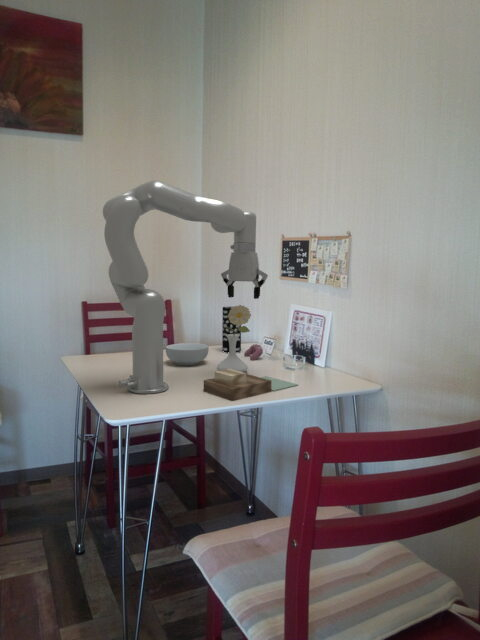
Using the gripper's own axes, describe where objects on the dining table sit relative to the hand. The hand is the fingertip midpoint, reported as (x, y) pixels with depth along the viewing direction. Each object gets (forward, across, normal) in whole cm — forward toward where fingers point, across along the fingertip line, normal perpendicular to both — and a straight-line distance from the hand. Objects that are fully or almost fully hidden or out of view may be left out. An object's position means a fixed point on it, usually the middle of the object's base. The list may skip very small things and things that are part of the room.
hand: (243, 297), depth 169 cm
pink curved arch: (+28, -8, +31) cm, 42 cm away
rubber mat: (+28, +13, -7) cm, 31 cm away
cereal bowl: (+28, -28, +9) cm, 41 cm away
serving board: (+28, +7, -20) cm, 35 cm away
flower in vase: (+28, -4, +3) cm, 28 cm away
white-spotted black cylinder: (+28, -23, +40) cm, 54 cm away
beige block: (+23, +6, -23) cm, 33 cm away
